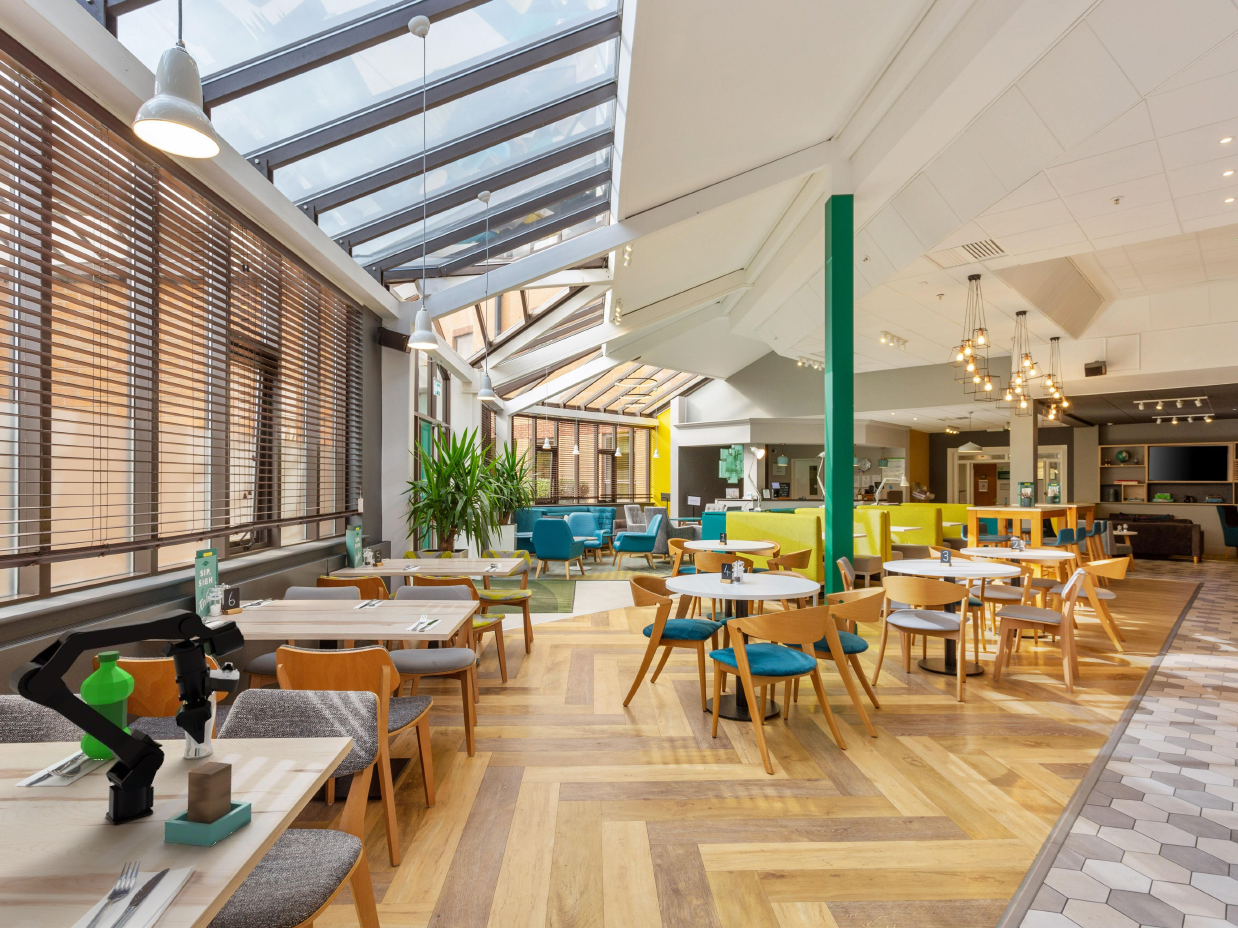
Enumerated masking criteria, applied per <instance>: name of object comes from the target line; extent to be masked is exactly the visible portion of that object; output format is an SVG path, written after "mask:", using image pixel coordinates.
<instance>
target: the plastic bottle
mask: <svg viewBox="0 0 1238 928" xmlns="http://www.w3.org/2000/svg"><path fill="white" fill-rule="evenodd" d="M118 660H120V651H119V650H111V651H110V650H109V651H103V652H99V653H97V662H98V663H100V664H99V668H98V669H97V670H96V671H93V673H92V674H90V676H88V677H87V678H86V679H85V680H83V682H82V684H81V686H80V691H79V692H80V697H81V698H80V699H81V700H82V701H83V702H85V703H86V704H87V705H89V706H90V707H92V708H93V709H94V710H96V711H97V712H98V713H100V714H101V715H103V716H104V717H105V718H107V719H108V720H109V721H111V722H112V723H114V724H115V725H116V726H118V727H119V728H121V729H122V730H123V731H125V732H126V733H129V734H132V733H131V730H130V729H129V728H128V726H127V725H128V718H127V717H128V697H130V695H131V694H132V693H133V692H134V689H135V679H134V677H133V675H132V674H129V673H128V672H127V671H126V670H124V669H122V668H121V667H119V666H118V663H117V661H118ZM80 748H81V751H82V752H83V753H84V754H85V755H86V756H87V757H88V758H90V759H91V760H93V759H100V760H101V759H107V760H111V759H113V758H115V757H114V756H113V754H112V753H111V752H110V750H109V749H108V748H107V747H106V746H105V745H103V744H102V743H101V742H99V741H98V740H96V739H95V738H93V737H92V736H91V735H89V734H88V733H86V732H85V733H84V735H83V737H82V738H81V741H80Z"/></svg>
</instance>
